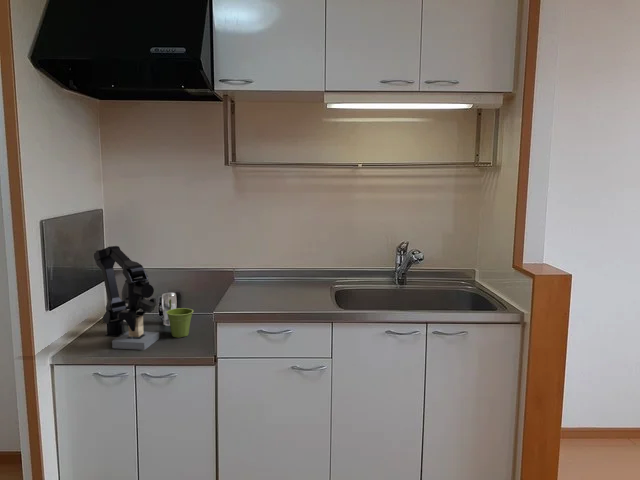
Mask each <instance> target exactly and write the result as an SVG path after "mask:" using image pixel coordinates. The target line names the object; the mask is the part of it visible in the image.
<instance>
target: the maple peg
mask: <svg viewBox="0 0 640 480" xmlns="http://www.w3.org/2000/svg"><path fill="white" fill-rule="evenodd" d="M136 316H137V315H136ZM127 326H128V327H127V328H128V331H129V336H130V337H139V336H141V335H142V334H143V331H144V315H143V316H139V317H138V318H137V319H136V324H135V331H132V330H131V329H130V327H129V325H127Z"/></svg>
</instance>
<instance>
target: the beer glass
mask: <svg viewBox="0 0 640 480" xmlns="http://www.w3.org/2000/svg"><path fill="white" fill-rule="evenodd" d="M177 299H178V298H177V293H176V292H172V291H171V292H164V293H162V294H161V309H162V313H163V322H162V325H163V326H166V327H167V326H168V327H169V326H170V322H169V318H168V314H167V313H166V312H167V311H168V310H171V309H177V306H178V305H177V303H178V302H177Z"/></svg>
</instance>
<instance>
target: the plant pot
mask: <svg viewBox="0 0 640 480" xmlns="http://www.w3.org/2000/svg"><path fill="white" fill-rule="evenodd" d="M166 313H167V314H168V318H169V322H170V332H171V336H172V337H173V338H183V337H187V336H189V334H190V327H191V319H192V316H193V313H194V309H191V308H188V307H187V308H185V307H181V308H180V307H176V309H171V310H168V311H167V312H166Z"/></svg>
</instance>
